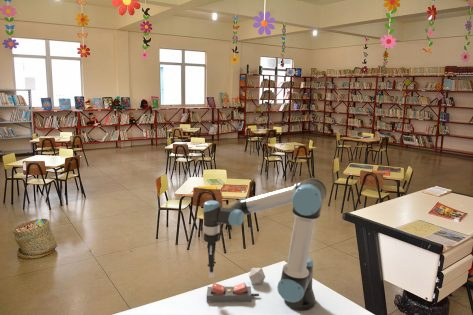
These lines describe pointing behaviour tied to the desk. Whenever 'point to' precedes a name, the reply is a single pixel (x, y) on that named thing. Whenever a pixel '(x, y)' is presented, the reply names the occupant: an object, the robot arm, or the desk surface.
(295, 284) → the robot arm
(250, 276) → the die
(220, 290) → the rocker
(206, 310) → the desk surface
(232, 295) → the power strip
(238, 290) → the rocker
